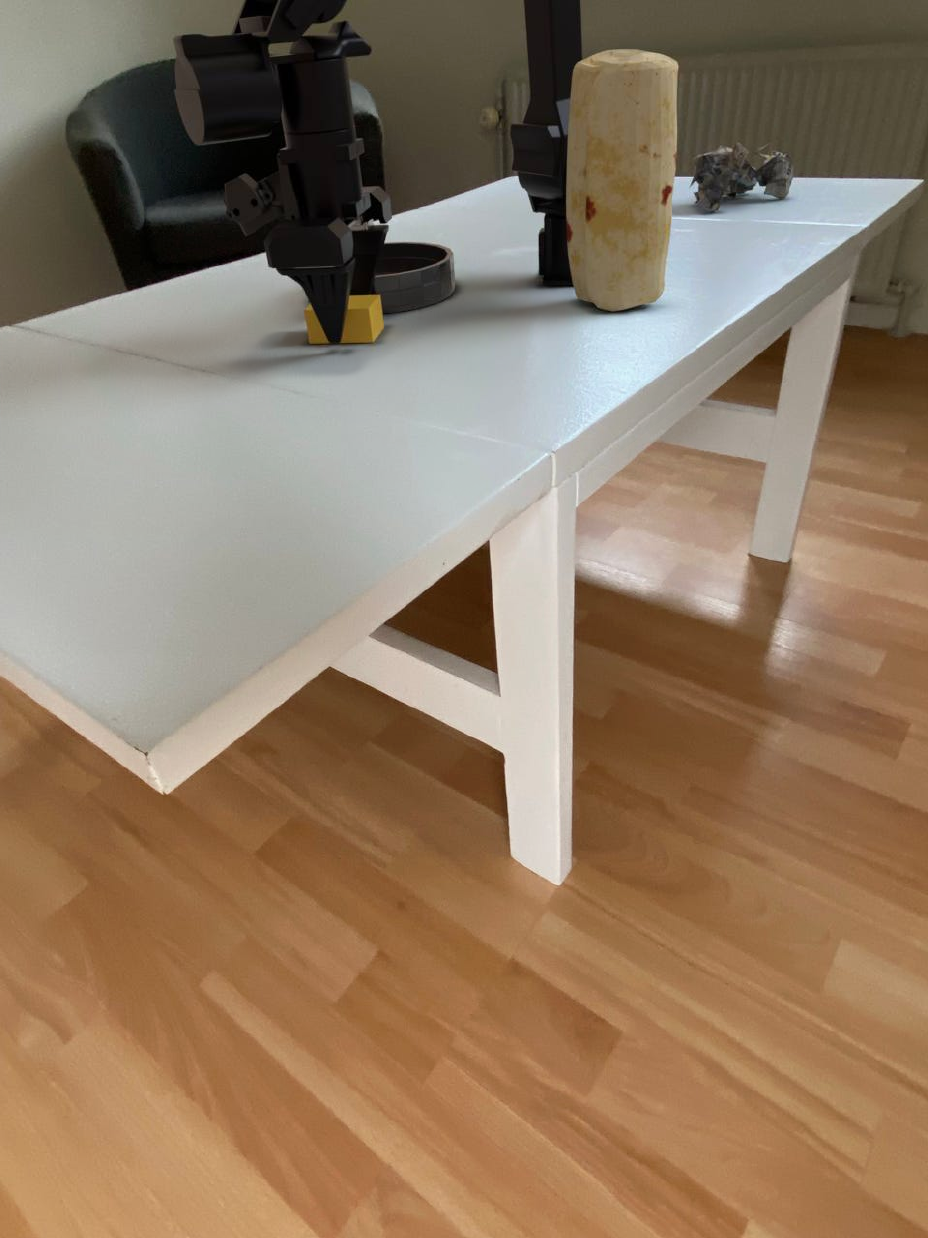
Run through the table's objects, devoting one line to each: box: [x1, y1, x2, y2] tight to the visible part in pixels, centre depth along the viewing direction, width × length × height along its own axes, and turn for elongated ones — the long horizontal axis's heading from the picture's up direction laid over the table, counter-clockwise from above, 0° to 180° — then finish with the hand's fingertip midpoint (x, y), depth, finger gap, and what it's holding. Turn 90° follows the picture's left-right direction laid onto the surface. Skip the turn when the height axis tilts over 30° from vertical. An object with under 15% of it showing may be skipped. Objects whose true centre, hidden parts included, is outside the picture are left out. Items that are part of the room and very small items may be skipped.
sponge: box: [303, 295, 385, 345], centre depth 74 cm, size 6×4×3 cm
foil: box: [689, 141, 795, 215], centre depth 111 cm, size 12×11×15 cm
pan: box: [371, 241, 456, 315], centre depth 85 cm, size 15×15×4 cm
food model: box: [566, 48, 680, 313], centre depth 72 cm, size 10×7×20 cm
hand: (348, 326), depth 75 cm, fingers open, 9 cm apart
